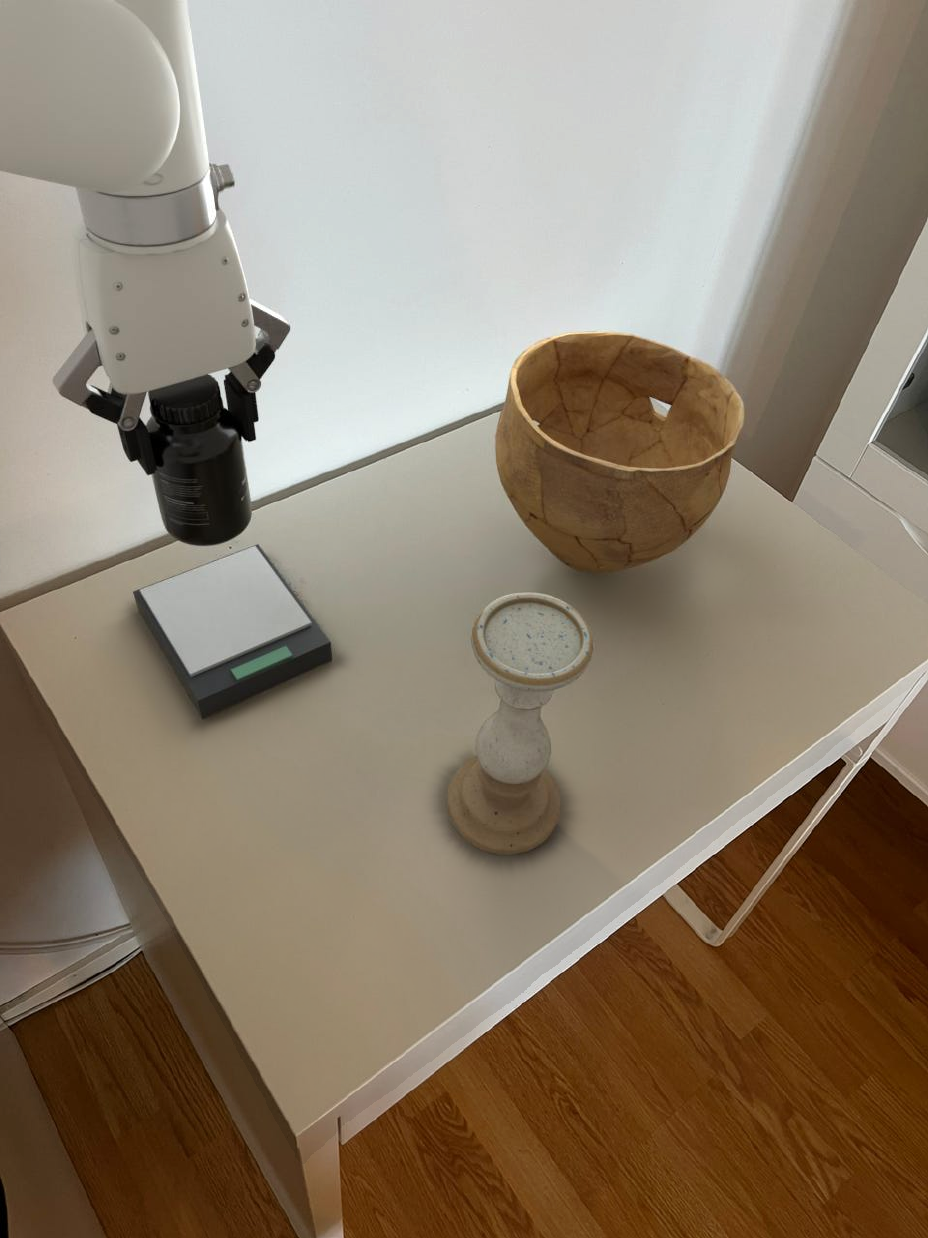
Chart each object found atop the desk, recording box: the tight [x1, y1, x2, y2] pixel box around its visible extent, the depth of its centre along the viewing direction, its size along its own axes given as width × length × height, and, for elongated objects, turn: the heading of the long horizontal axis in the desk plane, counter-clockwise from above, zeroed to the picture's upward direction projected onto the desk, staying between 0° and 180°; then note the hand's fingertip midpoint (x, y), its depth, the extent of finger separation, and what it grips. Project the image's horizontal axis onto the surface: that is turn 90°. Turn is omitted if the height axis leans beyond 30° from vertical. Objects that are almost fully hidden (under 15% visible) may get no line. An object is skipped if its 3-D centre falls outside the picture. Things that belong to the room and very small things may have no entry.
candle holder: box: [446, 591, 594, 855], centre depth 65 cm, size 9×9×20 cm
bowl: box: [494, 330, 745, 575], centre depth 83 cm, size 21×20×20 cm
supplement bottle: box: [145, 374, 253, 547], centre depth 68 cm, size 7×7×12 cm
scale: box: [132, 543, 333, 720], centre depth 81 cm, size 12×14×3 cm
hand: (194, 445), depth 67 cm, fingers closed on supplement bottle, 6 cm apart
